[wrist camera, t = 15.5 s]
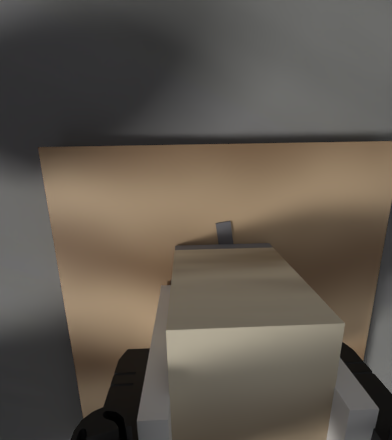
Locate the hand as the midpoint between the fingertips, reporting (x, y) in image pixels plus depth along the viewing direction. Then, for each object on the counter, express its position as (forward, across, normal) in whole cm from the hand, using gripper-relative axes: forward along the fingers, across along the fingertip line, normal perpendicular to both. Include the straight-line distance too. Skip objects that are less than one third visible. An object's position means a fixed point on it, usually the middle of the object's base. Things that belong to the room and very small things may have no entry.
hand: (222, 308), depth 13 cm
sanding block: (0, 0, 0) cm, 0 cm away
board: (+2, 0, -4) cm, 4 cm away
